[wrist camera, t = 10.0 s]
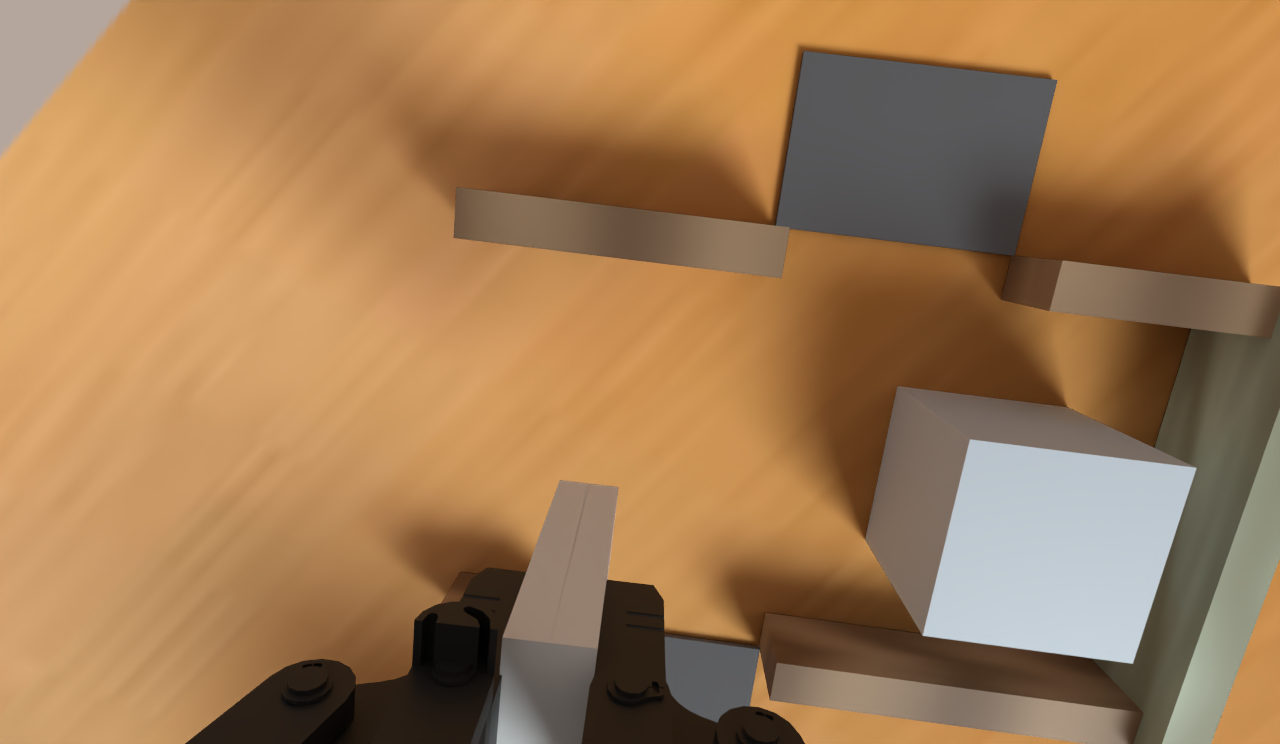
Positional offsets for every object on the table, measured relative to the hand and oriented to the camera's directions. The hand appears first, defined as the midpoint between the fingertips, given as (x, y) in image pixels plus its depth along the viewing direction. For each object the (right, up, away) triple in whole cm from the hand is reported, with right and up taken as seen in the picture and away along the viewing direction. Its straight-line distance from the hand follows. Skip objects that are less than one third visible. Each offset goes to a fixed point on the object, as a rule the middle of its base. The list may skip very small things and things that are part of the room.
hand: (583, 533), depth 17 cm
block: (+13, 0, +7) cm, 15 cm away
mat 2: (+10, +11, +5) cm, 16 cm away
